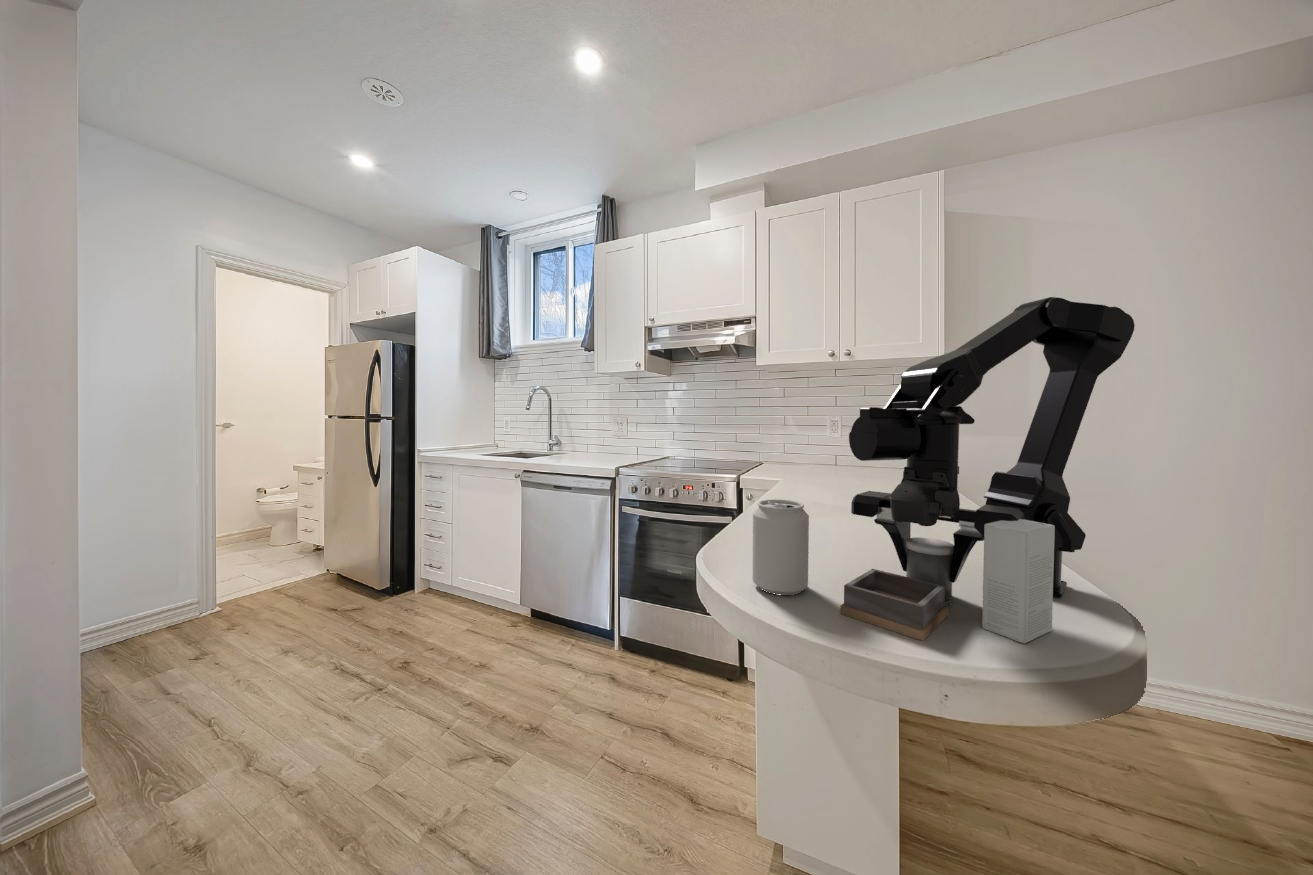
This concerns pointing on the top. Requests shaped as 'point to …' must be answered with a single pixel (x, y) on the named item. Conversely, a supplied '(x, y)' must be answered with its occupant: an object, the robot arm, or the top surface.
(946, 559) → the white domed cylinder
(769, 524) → the can
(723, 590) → the top surface
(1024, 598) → the skincare box
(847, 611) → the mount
